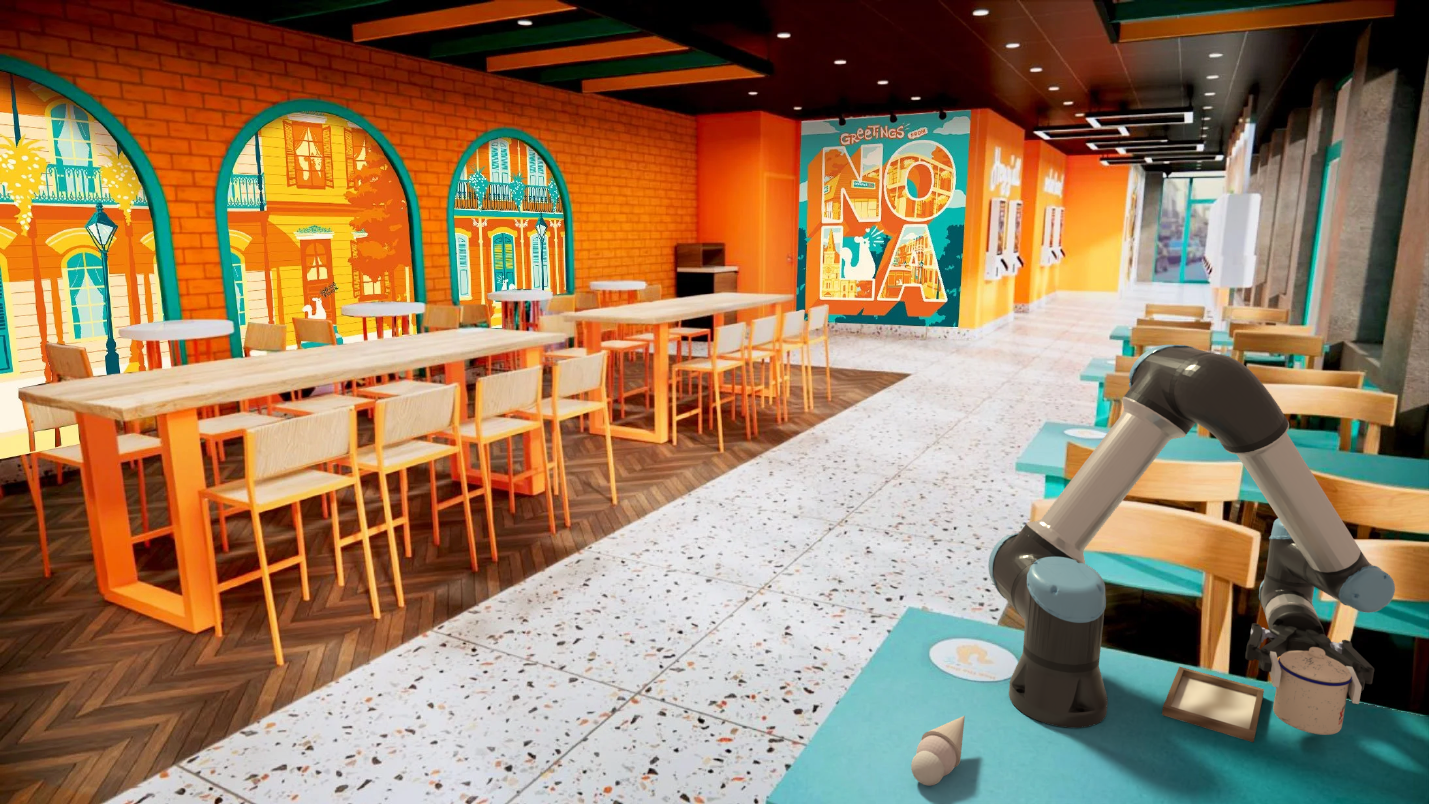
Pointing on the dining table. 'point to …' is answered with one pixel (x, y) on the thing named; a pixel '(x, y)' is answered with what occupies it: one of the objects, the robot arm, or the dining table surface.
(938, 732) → the ice cream cone
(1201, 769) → the dining table surface
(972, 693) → the dining table surface
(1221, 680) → the walnut tray
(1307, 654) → the teacup with lid
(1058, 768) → the dining table surface
